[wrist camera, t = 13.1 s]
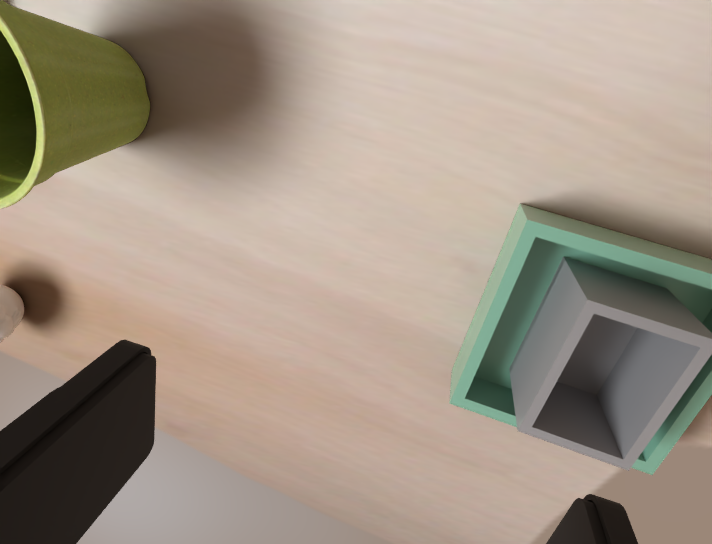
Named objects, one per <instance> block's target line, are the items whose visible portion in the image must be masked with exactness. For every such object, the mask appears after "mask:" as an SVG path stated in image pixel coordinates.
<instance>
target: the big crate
mask: <svg viewBox="0 0 712 544" xmlns="http://www.w3.org/2000/svg"><path fill="white" fill-rule="evenodd" d="M563 257H567V258H570V259H573V260H576V261H580V262H583V263H586V264H589V265H593V266H596V267H599V268H602V269H606V270H609V271H612V272H615V273H619V274H622V275H625V276H628V277H632V278H635V279H638V280H641V281H645V282H648V283H651V284H654V285H658V286H661V287H664V288H667V289H668V290H669V291H670V292H671V293H672V294H673V295H674V296H675V297H676V298H677V299H678V300H679V301H680V302H681V303H682V304H683V305H684V306H685V307H686V308H687V309H688V310H689V311H690V312H691V313H692V314H693V315H694V316H695V317H696V318H697V319H698V320H699V321H700V322H701V323H702V324H703V325H704V326H705V327H706V328H707V329H708V330H709V331H710V332H711V333H712V259H709V258H705V257H702V256H699V255H695V254H692V253H688V252H685V251H681V250H678V249H675V248H671V247H668V246H664V245H661V244H657V243H654V242H651V241H647V240H644V239H640V238H637V237H633V236H630V235H627V234H623V233H620V232H616V231H613V230H609V229H606V228H603V227H599V226H596V225H592V224H589V223H585V222H582V221H579V220H575V219H572V218H568V217H565V216H561V215H558V214H554V213H551V212H548V211H544V210H541V209H537V208H534V207H530V206H527V205H524V204H520V205H519V207H518V210H517V212H516V215H515V217H514V220H513V222H512V225H511V227H510V229H509V232H508V234H507V237H506V239H505V242H504V244H503V247H502V249H501V251H500V254H499V256H498V259H497V261H496V264H495V266H494V269H493V271H492V273H491V276H490V278H489V281H488V283H487V286H486V288H485V291H484V293H483V295H482V298H481V300H480V303H479V305H478V308H477V310H476V313H475V315H474V317H473V320H472V322H471V325H470V327H469V330H468V332H467V335H466V337H465V340H464V342H463V344H462V347H461V349H460V352H459V354H458V357H457V359H456V362H455V364H454V366H453V369H452V375H451V389H450V404H453V405H456V406H459V407H461V408H464V409H467V410H470V411H473V412H476V413H478V414H481V415H484V416H487V417H490V418H492V419H495V420H498V421H501V422H504V423H507V424H509V425H512V426H515V427H517V423H516V415H515V408H514V401H513V393H512V386H511V379H510V371H509V368H510V366H511V364H512V362H513V360H514V358H515V355H516V353H517V351H518V349H519V347H520V345H521V343H522V341H523V339H524V337H525V335H526V333H527V331H528V329H529V326H530V324H531V322H532V320H533V318H534V316H535V314H536V312H537V310H538V308H539V306H540V304H541V302H542V300H543V297H544V295H545V293H546V291H547V289H548V287H549V285H550V283H551V281H552V279H553V277H554V275H555V273H556V271H557V268H558V266H559V264H560V262H561V260H562V258H563ZM711 395H712V355H711V356H710V357H709V359H708V360H707V362H706V363H705V365H704V366H703V367H702V369H701V370H700V372H699V373H698V374H697V376H696V377H695V379H694V380H693V381H692V383H691V384H690V386H689V387H688V388H687V390H686V391H685V393H684V394H683V395H682V397H681V398H680V400H679V401H678V402H677V404H676V405H675V407H674V408H673V409H672V411H671V412H670V414H669V415H668V417H667V418H666V419H665V421H664V422H663V424H662V425H661V426H660V428H659V429H658V431H657V432H656V433H655V435H654V436H653V438H652V439H651V440H650V442H649V443H648V445H647V446H646V447H645V449H644V450H643V452H642V453H641V454H640V456H639V457H638V459H637V460H636V461H635V463H634V464H633V466H632V467H631V468H634V469H637V470H640V471H642V472H645V473H648V474H651V475H653V473H654V472H655V471H656V469H657V468H658V467H659V465H660V464H661V463H662V461H663V460H664V459H665V457H666V456H667V455H668V453H669V452H670V450H671V449H672V448H673V446H674V445H675V444H676V442H677V441H678V440H679V438H680V437H681V436H682V434H683V433H684V432H685V430H686V429H687V427H688V426H689V425H690V423H691V422H692V421H693V419H694V418H695V417H696V415H697V414H698V413H699V411H700V410H701V408H702V407H703V406H704V404H705V403H706V402H707V400H708V399H709V398H710V396H711Z"/></svg>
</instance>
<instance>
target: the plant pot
mask: <svg viewBox="0 0 712 544" xmlns="http://www.w3.org/2000/svg"><path fill="white" fill-rule="evenodd" d="M149 112H150V101H149V98H148V95H147V91H146V86H145V78H144V76H143V74H142V72H141V70H140V68H139V67H138V65H137V64H136V62H135V61H134V59H133V58H132V57H131V56H130V55H129V54H128V53H127V52H126V51H125V50H124V49H123V48H122V47H120V46H119V45H117V44H115V43H113V42H111V41H109V40H107V39H104V38H101V37H98V36H96V35H93V34H90V33H87V32H84V31H81V30H79V29H76V28H73V27H70V26H67V25H64V24H61V23H59V22H56V21H53V20H50V19H47V18H45V17H42V16H39V15H36V14H33V13H30V12H27V11H25V10H22V9H19V8H16V7H14V6H11V5H9V4H8V3H6V2H5V1H3V0H0V209H2V208H5V207H8V206H11V205H13V204H15V203H17V202H18V201H20V200H21V199H22V198H24V197H25V196H26V195H27V194H28V193H29V192H30V191H31V189H32V188H33V187H34V186H35V185H37V184H40V183H42V182H44V181H46V180H47V179H49V178H50V177H51V176H53V175H54V174H55V173H57V172H59V171H62V170H64V169H66V168H69V167H71V166H74V165H76V164H79V163H81V162H84V161H86V160H88V159H91V158H93V157H96V156H98V155H101V154H103V153H106V152H108V151H111V150H113V149H116V148H118V147H120V146H123V145H125V144H127V143H129V142H131V141H133V140H135V139H136V138H137V137H138V136H139V135H140V134H141V133H142V131H143V130H144V128H145V126H146V124H147V121H148V117H149Z"/></svg>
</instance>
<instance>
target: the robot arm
mask: <svg viewBox="0 0 712 544" xmlns="http://www.w3.org/2000/svg"><path fill="white" fill-rule="evenodd" d="M155 385H156V358H155V357H154V356H151V350H150V349H149V348H148V347H145V346H142V345H139V344H136V343H133V342H130V341H127V340H121V341H119V342H118V343H116V344H115V345H114V346H112V347H111V348H110V349H109V350H107V351H106V352H105V353H103V354H102V355H101V356H100V357H98V358H97V359H96V360H94V361H93V362H92V363H91V364H89V365H88V366H87V367H85V368H84V369H83V370H82V371H80V372H79V373H78V374H76V375H75V376H74V377H73V378H71V379H70V380H69V381H68V382H66V383H65V384H64V385H63V386H61V387H59V388H57V389H56V390H54V391H52V392H51V393H49V394H48V395H47V396H45V397H44V398H43V399H41V400H40V401H39V402H37V403H36V404H35V405H34V406H32V407H31V408H30V409H28V410H27V411H26V412H25V413H23V414H22V415H21V416H19V417H18V418H17V419H15V420H14V421H13V422H12V423H10V424H9V425H8V426H7V427H5V428H4V429H3V430H1V431H0V544H76V543H77V542H78V541H79V540H80V538H81V537H82V536H83V535H84V533H85V532H86V531H87V530H88V529H89V527H90V526H91V525H92V524H93V522H94V521H95V520H96V519H97V517H98V516H99V515H100V514H101V513H102V511H103V510H104V509H105V508H106V507H107V505H108V504H109V503H110V502H111V501H112V499H113V498H114V497H115V495H116V494H117V493H118V492H119V491H120V489H121V488H122V487H123V486H124V485H125V483H126V482H127V481H128V480H129V479H130V477H131V476H132V475H133V474H134V472H135V471H136V470H137V469H138V468H139V466H140V465H141V464H142V462H143V461H144V460H145V459H146V458H147V456H148V455H149V453H150V451H151V449H152V447H153V444H154V426H155ZM546 544H638V542H637V539H636V537H635V534H634V532H633V529H632V526H631V524H630V521H629V519H628V516H627V513H626V511H625V509H624V507H623V506H622V505H621V504H619V503H616V502H613V501H610V500H607V499H604V498H601V497H598V496H595V495H592V494H589V495H586V496H585V498H584V499H580V498H578V499H576V500H575V501H574V502H573V504H572V506H571V507H570V509H569V510H568V512H567V513H566V515H565V516H564V518H563V519H562V521H561V522H560V524H559V525H558V527H557V528H556V530H555V531H554V533H553V534H552V536H551V537H550V539H549V540H548V542H547V543H546Z"/></svg>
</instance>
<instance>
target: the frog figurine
mask: <svg viewBox="0 0 712 544" xmlns="http://www.w3.org/2000/svg"><path fill="white" fill-rule="evenodd" d="M23 315H24V304H23V301H22V299H21V297H20V296H19V295H18V294H17V293H16V292H15V291H14V290H13V289H11V288H9V287H7V286H4V285H1V284H0V343H1V342H2V341H3V340H4V338H6V337H8V336H9V335H10V334H11V333H12V332H13V331H14V329H15V328H16V327H17V326H18V325H19V323H20V322H21V320H22V318H23Z"/></svg>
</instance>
